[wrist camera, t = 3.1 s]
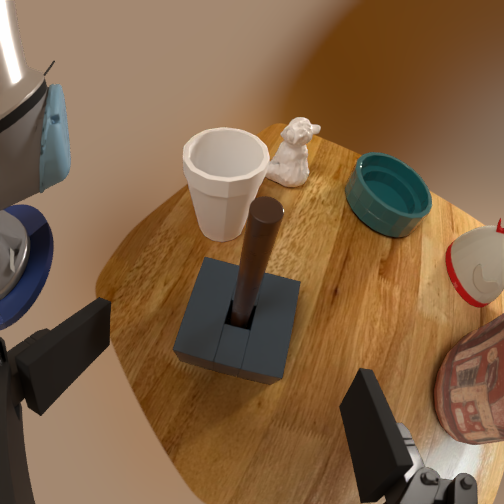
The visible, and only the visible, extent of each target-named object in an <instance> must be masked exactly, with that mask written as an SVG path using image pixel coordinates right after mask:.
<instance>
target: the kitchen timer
mask: <svg viewBox="0 0 504 504" xmlns="http://www.w3.org/2000/svg"><path fill="white" fill-rule="evenodd" d="M500 224H501V218H500V220H499V222H498V225H497V226H483V227H478V228H475V229H473V230H471V231H468V232H466V233H464V234H462V235H461V236H459V237H458V238H457V239H456V240H455V241H454V242H453V243H452V244H451V245H450V246H449V247H448V249H447V252H446V266H447V271H448V274H449V277H450V279H451V282H452V284H453V285H454V287H455V289H456V291H457V292H458V293H459V294H460V296H461V297H462V298H463V299H464V300H465V301H466V302H468V303H469V304H470V305H473V306H475V307H484V306H486V305H488V304H489V303H491V302H492V301H494V300H495V299H496V298H497V297H498V296H499V295H500V294H501V292H502V291H503V289H504V228H501V226H500Z"/></svg>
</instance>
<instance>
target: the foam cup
mask: <svg viewBox="0 0 504 504" xmlns="http://www.w3.org/2000/svg"><path fill="white" fill-rule="evenodd" d="M269 159H270V157H269V153H268V149H267V146H266V145H265V144H264V143H263V142H262V141H261V140H260V139H259V138H258V137H257V136H255V135H253V134H251V133H248V132H246V131H244V130H241V129H234V128H226V127H222V128H214V129H207V130H205V131H203V132H200V133H198V134H196V135H194V136H192V138H191V139H190V140H189V141H188V142H187V143H186V145H185V146H184V150H183V169H184V176H185V177H186V178H187V182H188V186H189V190H190V194H191V198H192V201H193V205H194V209H195V213H196V217H197V220H198V224H199V226H200V229H201V231H202V233H203V234H204V236H206V237H208V238H209V239H211V240H213V241H219V242H225V241H230V240H233V239H235V238H236V237H237V236H239V235H240V234H241V232H242V229H243V227H244V225H245V222H246V220H247V217H248V212H249V207H250V204H251V202H252V201H253V200H254V199H255V197H256V194H257V192H258V189H259V186H260V185H261V184H262V182H263V180H264V178H265V175H266V173H267V169H268V164H269Z"/></svg>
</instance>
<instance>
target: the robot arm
mask: <svg viewBox="0 0 504 504" xmlns="http://www.w3.org/2000/svg"><path fill="white" fill-rule="evenodd" d="M54 62H55V61H53V62H52V64H51V65H50V67H49V68H48V69H47V71H46V72H45V73H44V74H43V72H41V71H39V70H36V69H33V68H30V67H29V66H27V63H26V59H25V55H24V50H23V46H22V41H21V37H20V31H19V25H18V19H17V13H16V5H15V0H0V300H1V299H2V298H4V297H5V296H6V295H7V294H8V293H10V291H11V290H12V289H13V288H14V287H15V286H16V284H17V283H18V281H19V280H20V278H21V276H22V274H23V272H24V270H25V268H26V265H27V262H28V258H29V254H30V238H29V234H28V232H27V230H26V228H25V227H24V226H23V224H22V223H21V222H20V221H19V220H18V219H17V218H16V217H14V216H12V215H11V214H9V213H8V212H6V211H4V210H3V209H5V208H7V207H9V206H11V205H13V204H15V203H17V202H19V201H22V200H24V199H26V198H28V197H30V196H32V195H34V194H37V193H39V192H40V193H42V192H44V190H45V189H47V188H49V187H51V186H53V185H55V184H57V183H59V182H61V181H63V180H64V179H65V178H66V177H67V175H68V173H69V170H70V164H71V158H70V144H69V134H68V123H67V114H66V106H65V99H64V94H63V91H62V87H61V85H59V84H56V85H54V84H52V85H50V87H47V85H46V82H45V78H44V76H45V75H46V74H47V72H48V71H49V70H50V68H51V67H52V65H53V64H54ZM110 314H111V302H110V301H108V300H105V299H103V298H100V297H99V298H97V299H96V300H94V301H93V302H92V303H90V304H89V305H87V306H85V307H84V308H83V309H81V310H80V311H78V312H77V313H75V314H74V315H72V316H71V317H69V318H68V319H66V320H65V321H64V322H62V323H61V324H59V325H58V326H56V327H55V328H54V329H52V330H49V329H47V328H46V329H43V330H39V331H37V332H35V333H34V334H32V335H31V336H30V337H28V338H26V339H25V340H24V341H22V342H21V343H19V344H18V345H16V346H15V347H13V348H12V349H11V350H9V351H8V352H7V351H6V346H5V341H4V340H3V339H2V338H1V337H0V504H35V501H34V497H33V492H32V488H31V483H30V478H29V472H28V466H27V459H26V452H25V444H24V435H23V421H22V406H21V403H20V402H21V401H22V400H23V399H24V398H25V399H26V403H27V406H28V408H30V409H31V410H33V411H34V412H36V413H37V414H39V415H40V416H41V415H42V414H43V413H44V412H45V411H46V410H47V409H48V408H49V407H50V406H51V405H52V404H53V403H54V402H55V400H56V399H57V398H58V397H59V396H60V395H61V394H62V393H63V392H64V391H65V390H66V389H67V388H68V387H69V386H70V385H71V384H72V383H73V382H74V381H75V380H76V379H77V378H78V376H80V375H81V373H82V372H83V371H84V370H85V369H86V368H87V367H88V366H89V365H90V364H91V363H92V362H93V361H94V360H95V359H96V358H97V357H98V356H99V355H100V354H101V353H102V352H103V351H104V350H105V349H106V348H107V347H108V346H109V345H110ZM339 408H340V412H341V416H342V420H343V424H344V428H345V432H346V437H347V441H348V445H349V450H350V454H351V459H352V463H353V468H354V472H355V477H356V482H357V487H358V492H359V497H360V502H361V503H370V502H377V501H378V500H379V499H380V498H382V497H383V496H384V495H385V499H386V502H385V503H383V504H478V497H477V483H476V480H475V479H474V477H472V476H471V475H470V474H467V473H461V474H458V475H457V476H456V477H455V478H454V479H453V480H448V479H441V478H440V476H439V474H438V473H437V472H436V471H435V470H433V469H431V468H428V467H425V465H424V463H423V461H422V458H421V456H420V454H419V452H418V449H417V447H416V446H415V443H414V440H412V436H411V434H410V432H409V430H408V429H407V428H406V427H405V426H404V424H403V423H396V421H395V418H394V416H393V414H392V412H391V409H390V407H389V405H388V403H387V401H386V398H385V396H384V394H383V392H382V390H381V388H380V385H379V383H378V381H377V379H376V377H375V375H374V373H373V371H372V370H370V369H363V368H359V370H358V372H357V374H356V376H355V378H354V380H353V382H352V384H351V386H350V388H349V390H348V391H347V393H346V395H345V397H344V399H343V401H342V403H341V404H340V406H339Z"/></svg>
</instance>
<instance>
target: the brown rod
mask: <svg viewBox="0 0 504 504" xmlns="http://www.w3.org/2000/svg"><path fill="white" fill-rule="evenodd" d="M283 215H284V209H283V206H282V205H281V203H280V202H278V201H277V200H276V199H274V198H271V197H258V198H256V199H254V200H253V201H252V202H251V204H250V207H249V212H248V218H247V224H246V230H245V236H244V242H243V247H242V253H241V259H240V265H239V271H238V277H237V283H236V289H235V295H234V301H233V307H232V314H231V320H230V325H231V326H235V327H239V328H243V329H246V326H247V323H248V320H249V317H250V314H251V311H252V308H253V305H254V303H255V300H256V297H257V294H258V291H259V288H260V285H261V282H262V279H263V276H264V273H265V270H266V267H267V264H268V261H269V258H270V255H271V252H272V249H273V246H274V243H275V240H276V237H277V234H278V231H279V228H280V225H281V222H282V219H283Z"/></svg>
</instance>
